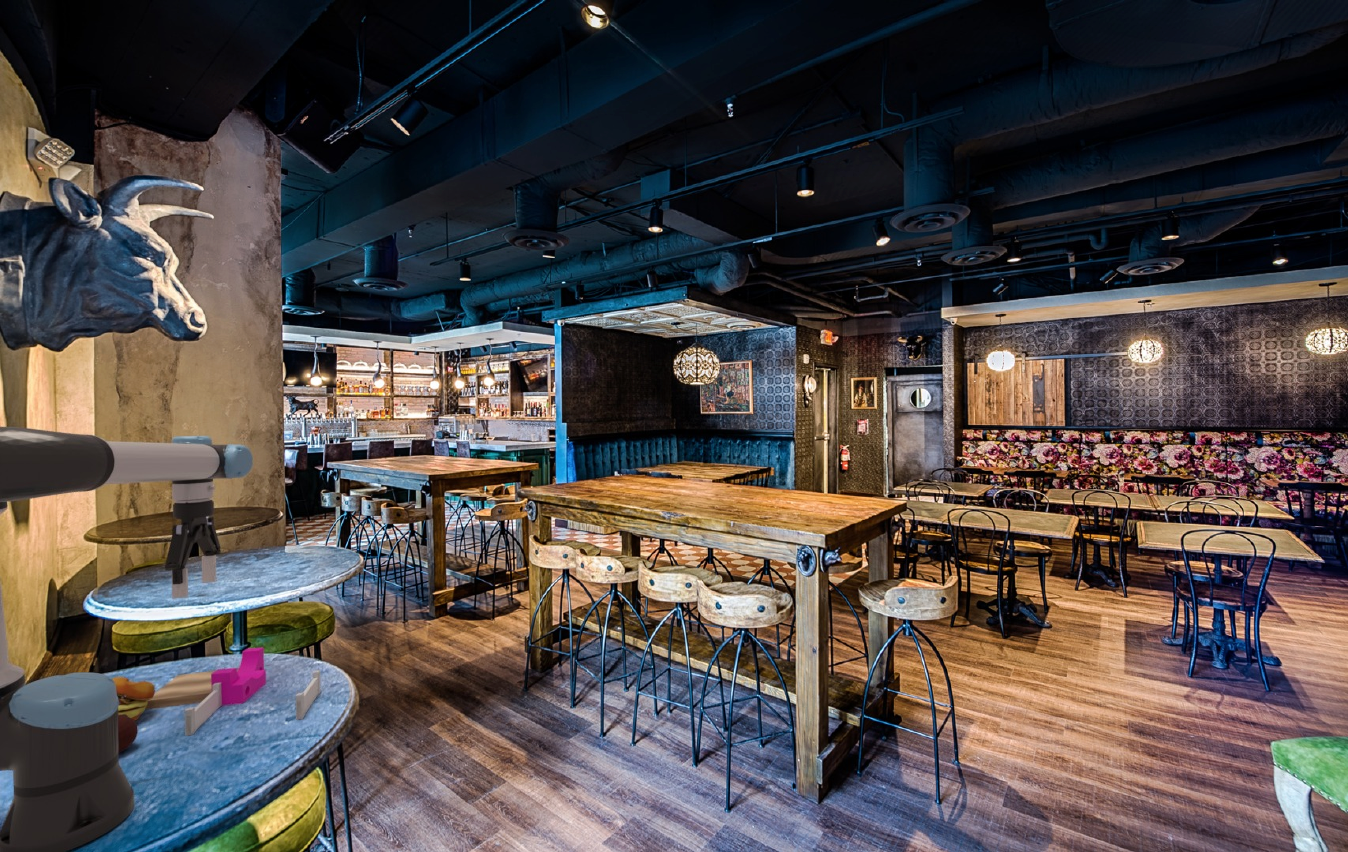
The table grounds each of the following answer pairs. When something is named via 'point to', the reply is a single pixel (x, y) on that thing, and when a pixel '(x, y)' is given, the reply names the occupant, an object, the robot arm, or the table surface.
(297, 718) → the grey bracket pieces
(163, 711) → the table surface
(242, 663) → the toy block
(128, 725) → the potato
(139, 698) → the cheeseburger
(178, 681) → the board
